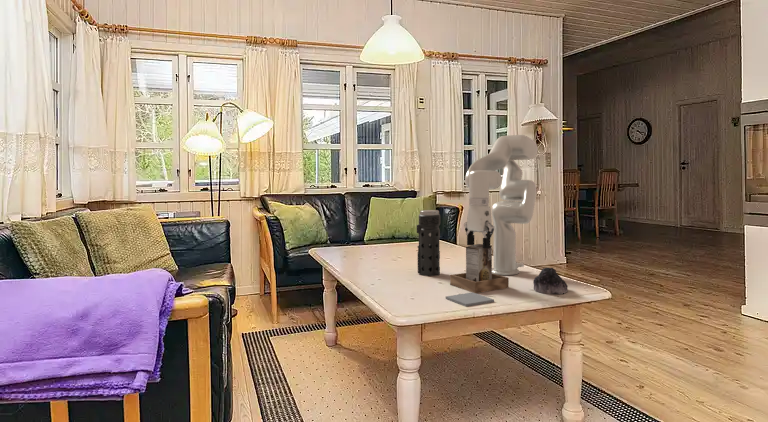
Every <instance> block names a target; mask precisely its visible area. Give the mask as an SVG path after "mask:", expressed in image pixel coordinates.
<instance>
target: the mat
mask: <svg viewBox="0 0 768 422" xmlns="http://www.w3.org/2000/svg"><path fill="white" fill-rule="evenodd" d="M445 299H446V300H448V301H450V302H453V303H456V304H458V305H462V306H463V307H471V306H477V305H485V304H490V303H494V302H495V299H494V298H491V297H487V296H485V295H482V294H480V293H479V294H478V293H473V292H466V293H459V294H453V295H448V296H445Z"/></svg>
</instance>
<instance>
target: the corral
mask: <svg viewBox="0 0 768 422" xmlns="http://www.w3.org/2000/svg"><path fill="white" fill-rule="evenodd" d="M449 276H450V277H449V278H450V279H449V280H450V283H449V285H450V286H452V287H456V288H459V289H462V290H465V291H468V292H469V293H471V292H473V293H476V294H478V293H479V294H481V293H484V292H491V291H499V290H503V289H504V290H505V289H509V281H510V279H509V277H508V276H507V277H506V276H505V275H498V274H493V273H492V279H491V280H485V281H478V282H475V281H472V280H468V279H466V272H463V273H454V274H450V275H449Z"/></svg>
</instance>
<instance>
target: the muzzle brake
mask: <svg viewBox="0 0 768 422" xmlns="http://www.w3.org/2000/svg"><path fill="white" fill-rule="evenodd" d="M440 225H441V214H440V211H439V210H438V209H424V210H423V209H422V210H420V211H419V214H418V224H416V233H417V234H418V245H417V274H419V275H420V276H423V277H424V276H425V277H436V276H439V275H441V267H440V264H441V263H440V262H441V261H440V259H441V254H440V253H441V251H440V238H441V233H440V232H441V230H440V228H439V226H440Z"/></svg>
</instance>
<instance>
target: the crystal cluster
mask: <svg viewBox="0 0 768 422" xmlns="http://www.w3.org/2000/svg"><path fill="white" fill-rule="evenodd" d="M532 284H533V290H534V292H535V293H541V294H546V293H549V295H551V294H552V295H555V294H557V295H563V293H564V294H566V293H567V292H568V288H569V287H568V284H567V282H566V281H565V280H564V279H562V278H561V276H560V275H559V274H558V272H557V270H556V269H555V268H554V267H544V268H542V269H541V270H540V272H539V274H538V275H537V276H535V278H534V279H533V283H532Z"/></svg>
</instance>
